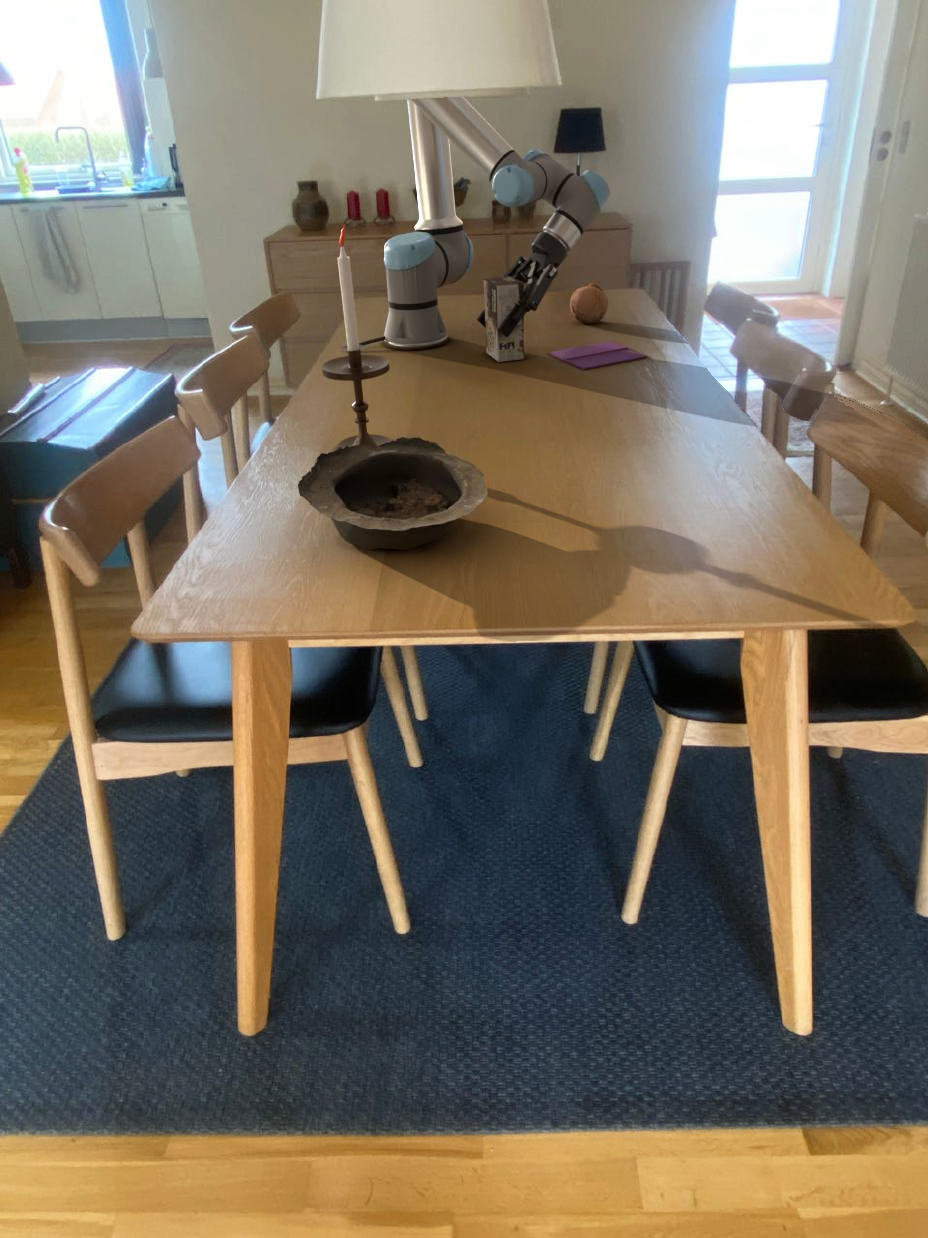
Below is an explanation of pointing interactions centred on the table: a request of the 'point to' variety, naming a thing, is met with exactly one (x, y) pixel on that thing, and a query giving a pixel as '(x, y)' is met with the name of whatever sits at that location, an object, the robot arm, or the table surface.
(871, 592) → the table surface
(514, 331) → the coffee box
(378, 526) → the stone bowl
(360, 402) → the candlestick
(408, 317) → the robot arm
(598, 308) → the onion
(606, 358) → the napkin
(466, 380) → the table surface
